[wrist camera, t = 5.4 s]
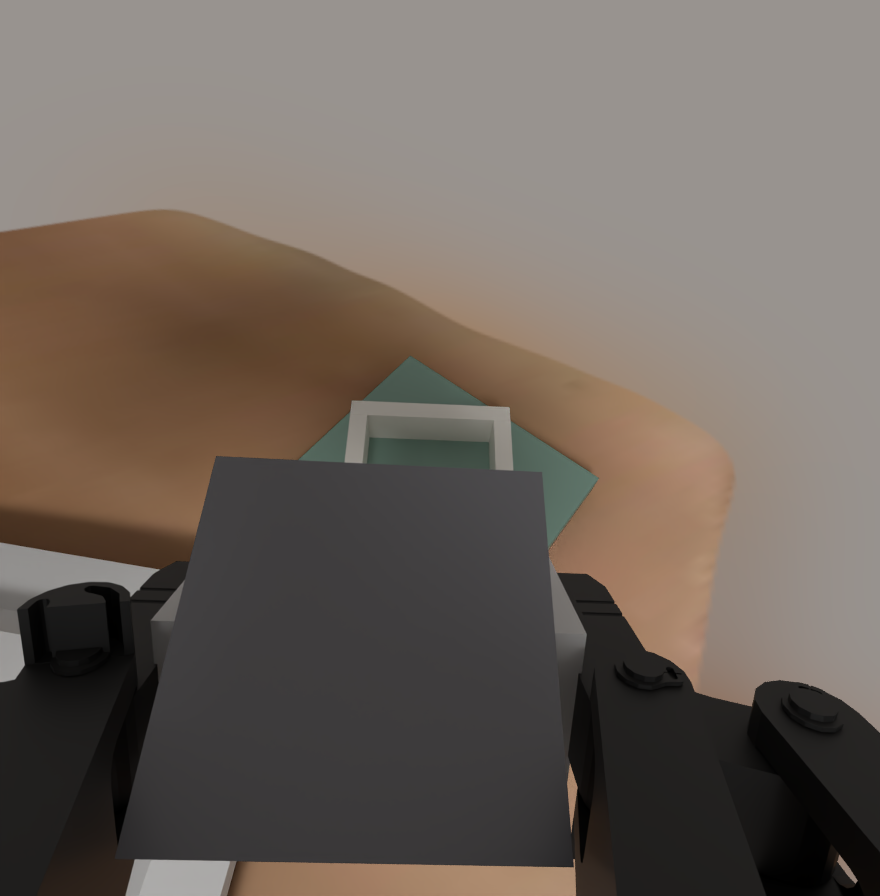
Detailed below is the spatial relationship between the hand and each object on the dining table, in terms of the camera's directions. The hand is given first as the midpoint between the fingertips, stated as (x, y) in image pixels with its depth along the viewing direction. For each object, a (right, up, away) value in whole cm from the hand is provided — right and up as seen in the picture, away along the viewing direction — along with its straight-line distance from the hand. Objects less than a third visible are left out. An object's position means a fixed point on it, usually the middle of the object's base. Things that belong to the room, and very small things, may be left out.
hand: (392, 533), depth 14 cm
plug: (0, -5, +1) cm, 5 cm away
